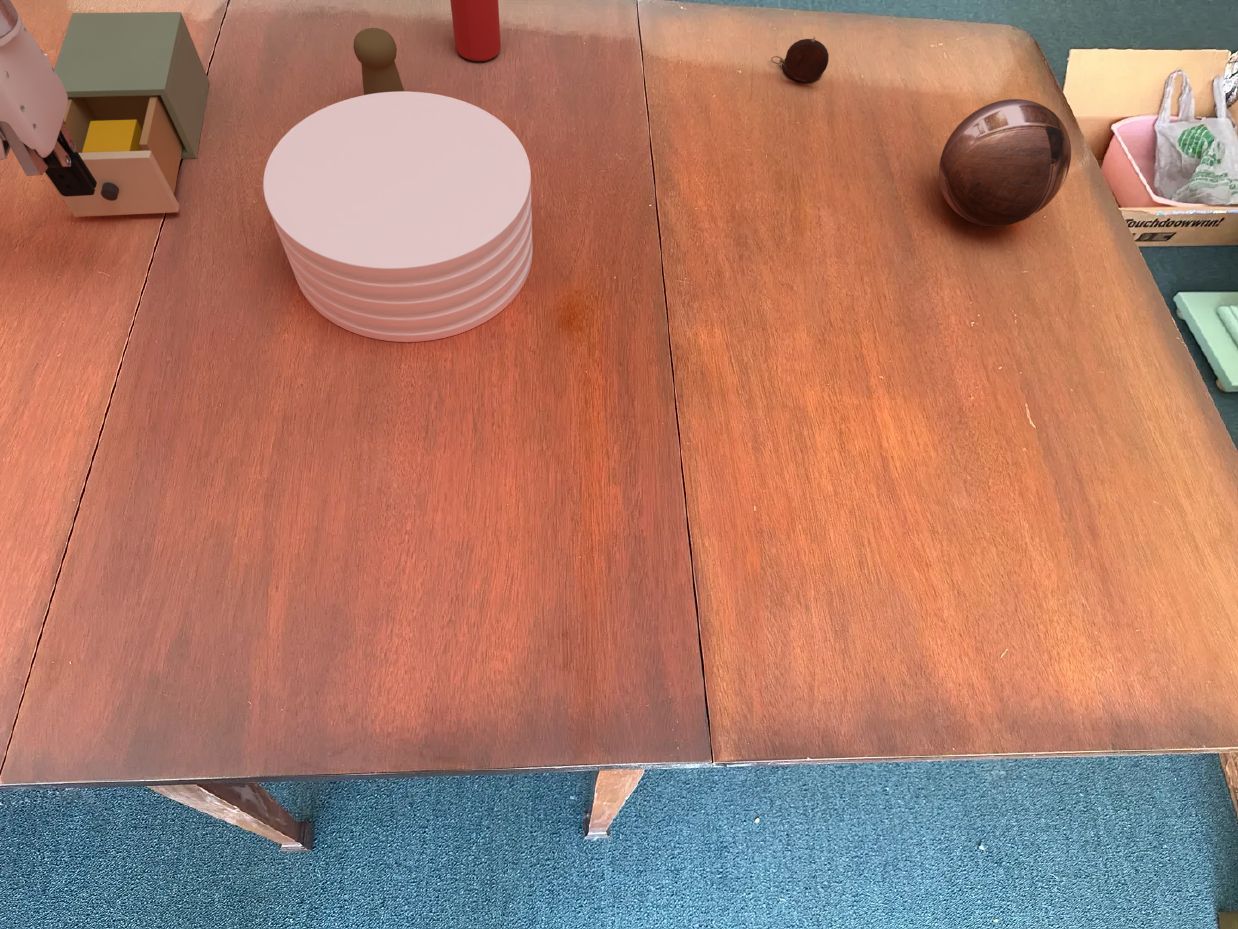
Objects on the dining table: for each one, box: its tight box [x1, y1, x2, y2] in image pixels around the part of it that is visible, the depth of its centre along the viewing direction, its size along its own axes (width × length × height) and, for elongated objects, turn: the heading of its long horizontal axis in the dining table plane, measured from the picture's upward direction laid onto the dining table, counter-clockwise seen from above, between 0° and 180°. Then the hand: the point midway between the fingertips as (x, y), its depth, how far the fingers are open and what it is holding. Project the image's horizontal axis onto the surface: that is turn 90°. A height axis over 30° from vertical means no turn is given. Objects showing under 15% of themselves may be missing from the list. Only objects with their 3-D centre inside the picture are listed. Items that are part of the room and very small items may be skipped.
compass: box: [770, 36, 830, 83], centre depth 115 cm, size 8×8×7 cm
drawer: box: [44, 95, 183, 218], centre depth 92 cm, size 16×11×8 cm
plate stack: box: [262, 90, 534, 343], centre depth 89 cm, size 28×28×12 cm
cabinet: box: [53, 11, 210, 160], centre depth 97 cm, size 16×13×10 cm
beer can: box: [449, 0, 502, 62], centre depth 109 cm, size 7×7×12 cm
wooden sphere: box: [938, 98, 1072, 227], centre depth 99 cm, size 15×15×15 cm
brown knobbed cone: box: [353, 27, 405, 95], centre depth 101 cm, size 6×6×11 cm
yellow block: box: [82, 120, 142, 153], centre depth 91 cm, size 5×6×5 cm
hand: (80, 190), depth 81 cm, fingers closed
